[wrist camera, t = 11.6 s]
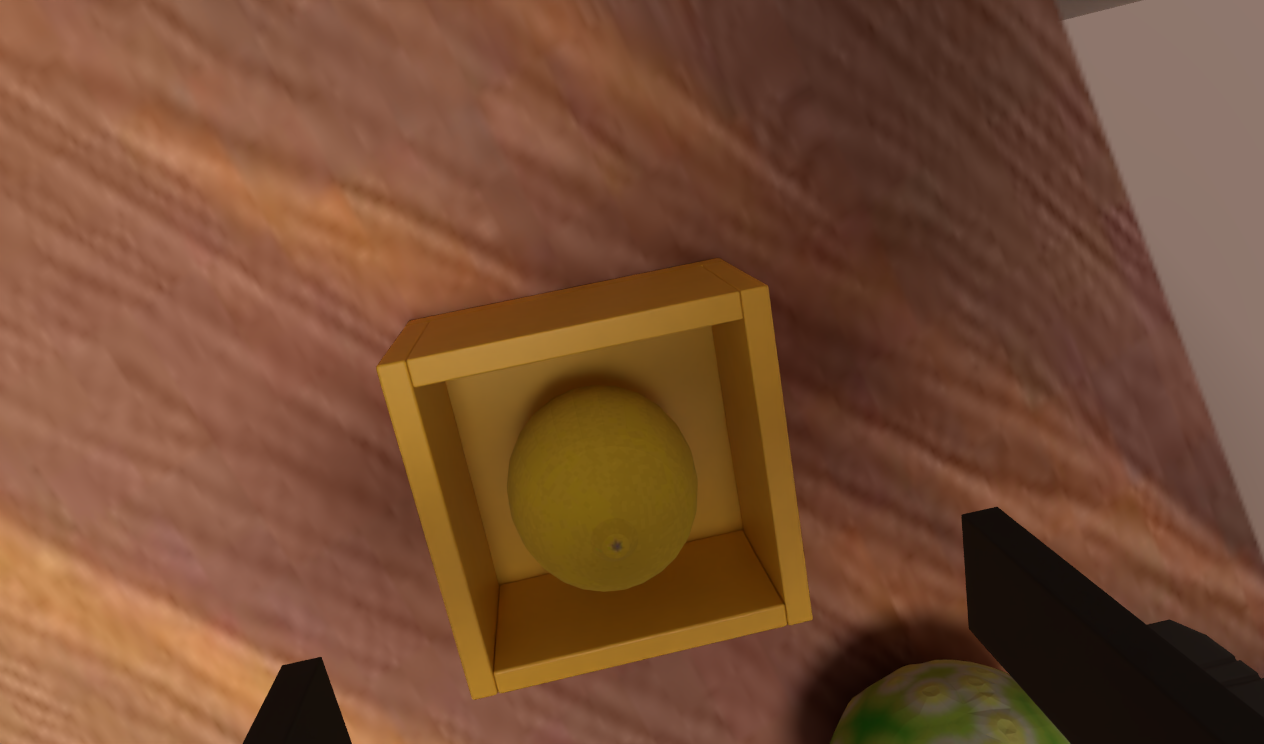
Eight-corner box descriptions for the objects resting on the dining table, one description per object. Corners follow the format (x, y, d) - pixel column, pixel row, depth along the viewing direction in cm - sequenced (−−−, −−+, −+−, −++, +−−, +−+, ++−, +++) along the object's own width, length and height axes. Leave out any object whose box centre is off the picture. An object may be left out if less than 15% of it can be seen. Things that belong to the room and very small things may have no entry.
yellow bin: (719, 257, 27) (768, 284, 21) (760, 532, 30) (813, 620, 24) (408, 320, 26) (374, 366, 20) (483, 596, 29) (472, 701, 23)
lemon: (690, 479, 28) (750, 603, 20) (541, 529, 28) (545, 674, 20) (645, 335, 26) (692, 410, 19) (486, 387, 26) (468, 485, 18)
